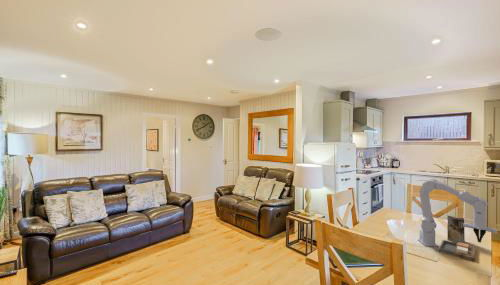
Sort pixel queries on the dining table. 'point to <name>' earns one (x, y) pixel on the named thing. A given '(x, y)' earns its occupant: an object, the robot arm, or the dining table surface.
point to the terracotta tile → (463, 245)
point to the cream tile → (462, 250)
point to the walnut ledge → (468, 256)
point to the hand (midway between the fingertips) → (479, 241)
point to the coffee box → (456, 229)
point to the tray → (447, 247)
